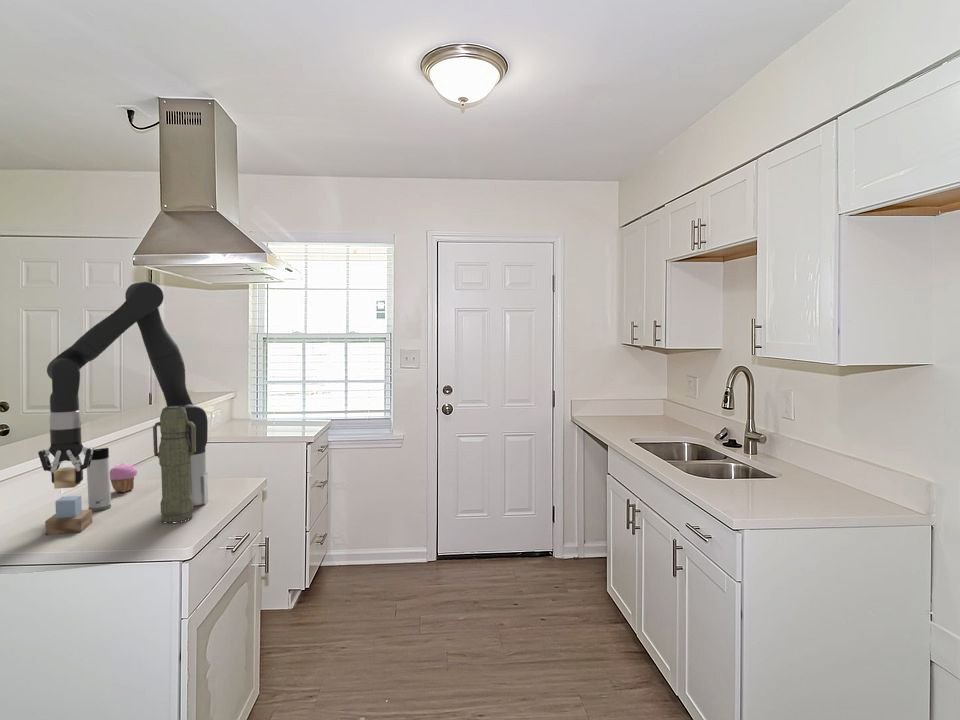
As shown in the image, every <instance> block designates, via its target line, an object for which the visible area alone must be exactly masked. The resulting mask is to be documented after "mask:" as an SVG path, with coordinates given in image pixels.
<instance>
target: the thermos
mask: <svg viewBox="0 0 960 720" xmlns="http://www.w3.org/2000/svg"><path fill="white" fill-rule="evenodd" d="M160 412H161V413H160V416H159V421H158V422H155V424H154V425H153V426H152V438H153V454H154V457H157V458H158V464H159V466H160V471H161V472H160V473H161V474H160V475H161V495H162V496H161V499H160V500H161V501H160V514H161V522H162V523H163V522H166V523H165V524H167V523H173V522H181V521H185V520H188V519H191V518H192V517H193V518H194V516H193V510H194V506H193V498H192V495H191V488H190V463H191V455H193V454H194V453H195V452H196V426H195V424H194V423H193V422H192V421H189V420H188V415H187V412H186V410H185V407H182V406H167V405H166V406H165V407H163V408H162V409H161V411H160ZM188 424H189V425H190V427H191V444H192V450H191V444H190V442H189V439H188V432H187V431H188ZM158 426H159V427H160V434H161V435H160V443H159V445H158ZM193 518H192V519H193ZM192 519H191V520H192ZM188 521H189V520H188Z"/></svg>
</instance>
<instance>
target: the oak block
mask: <svg viewBox="0 0 960 720" xmlns="http://www.w3.org/2000/svg"><path fill="white" fill-rule="evenodd" d="M75 472H76V469H75V467H74V466H70V467H69V466H68V467H59V469H58V470H56V471H54V483H53V485H54V486H53V487H54V490H55V489H69V488H76V487H77V486H79V485H81V483H79V484H76V474H75Z"/></svg>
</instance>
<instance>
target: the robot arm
mask: <svg viewBox="0 0 960 720" xmlns="http://www.w3.org/2000/svg"><path fill="white" fill-rule="evenodd" d="M164 297H165V296H164V291H163V290H162V288H161V287H160V286H159V285H158V284H157V283H154V282H150V281H140V282H139V281H138V282H135V283H132V284H130V285H129V286H128V287H127V289H126V290H125V301H124V302H123V303H122V304H121V305H120V306H119V307H118V308H117V309H116V310H115V311H113V312H112V313H111V314H109V315H108V316H106V317H105V318H103V319H102V320H100V321H99V322H98V323H96V324H95V325H93V326H92V327H91V328H90V329H88V330H87V331H86V332H84V334H83V335H82V336H80V337H79V338H78V339H77V340H76V341H75V342H74V343H73V344H72V345H71V346H69V347H68V348H67V349H65V350H64V351H62V352H61V353H59V354H58V355H57V356H56V357H54V358H53V359H52V360H51V361H50V362H49V363H48V365H47V368H46V373H47V375H48V377H49V378H50V379H51V387H52V388H51V391H52V392H51V393H50V397H49V411H50V412H49V413H50V414H49V434H50V435H49V439H50V446H49V448H48V449H42V450H40V451H38V453H37V454H38V456H39V459H40V463H41V466H42V469H43V471H45V472H47V471H48V472H50V473H51V474H50V476H51V477H50V478H51V483H52V484H54V471H56V470H58V469H59V468H61V467H60V465H62V463H63V462H71V463H72V465H73V467H75V469H76V472H75V474H76V484H79V483H80V484H82V483H81V482H82V481H83V480H84V470H87V467H89V466H90V464H91V460H92V455H93V451H94V450H95V448H94V447H92V446H91V447H84V445H83V444H82V421H81V413H80V399H79V391H80V383H81V372H80V371H81V369H82V368H83V367H84V366H85V365H87V364H88V363H89V362H92V361H93V360H95V359H97V358H98V357H99V356H100V355H101V354H103V353H104V352H105V351H106V349H108V347H110V346H111V345H112V343H114V342H115V341H116V340H117V339H118V338H119V337H120V336H121V335H122V334H124V333H125V332H126V331H127V330H128V329H129V328H131V327H132V326H133V325H134V324H137V326H138V329H139V331H140V334H141V338H142V341H143V345H144V347H145V349H146V353H147V356H148V359H149V362H150V365H151V368H152V370H153V372H154V374H155V377H156V380H157V381H158V384H159V386H160V389H161V392H162V394H163V396H164V399H165V403H166V407H167V406H182V407H185V410H186V412H187V415H188V420H189V421H192V422H193V423H194V424H195V426H196V452H195V453H194V454H193V455H191V463H190V488H191V495H192V498H193V507H198V506H202V505H206V504H207V502H208V501H209V485H208V484H209V482H208V472H207V464H206V463H207V460H206V458H207V457H206V455H207V454H206V447H207V443H208V433H209V431H208V429H209V428H208V427H209V425H208V424H209V422H208V415H207V413H206V411H205V410H204V409H203V408H201V407H200V406H198V405H194V403H193V402H192V399H191V398H190V397H191V396H190V395H189V392H188V390H187V385H186V368H185V367H186V366H185V362H184V359H183V356H182V353H181V351H180V348H179V346H178V343H177V342H176V341H175V339H174V337H173V336H172V334H171V332H170V331H169V330H168V329H167V328H168V327H166V325H165V324H164V321H163V319H162V317H161V314H160V310H159V307H160V306H161V305H162V304H163V301H164ZM187 432H188V439H189V442H190V444H191V427H190V425H189V424H188V431H187ZM191 450H192V444H191ZM81 453H83V455H84V460H83V463H82V459H81V457H80V455H81ZM50 454H51V455H52V457H54V458H53V461H52V464H51V461H50V458H49V457H50ZM80 484H79V485H80Z"/></svg>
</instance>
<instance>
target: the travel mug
mask: <svg viewBox="0 0 960 720" xmlns="http://www.w3.org/2000/svg"><path fill="white" fill-rule="evenodd" d="M109 449H110V448H109V447H102V448H101V447H100V448H94V451H93V455H92V460H91V464H90V466H89V467H87V468H86V476H87V499H88V501H87V502H88V510H92V512H99V511H105V510H109V509H110V508H111V507H112V496H111V494H112V493H111V492H112V491H111V480H110V470H111V468H110V466H111V465H110V451H109Z"/></svg>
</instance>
